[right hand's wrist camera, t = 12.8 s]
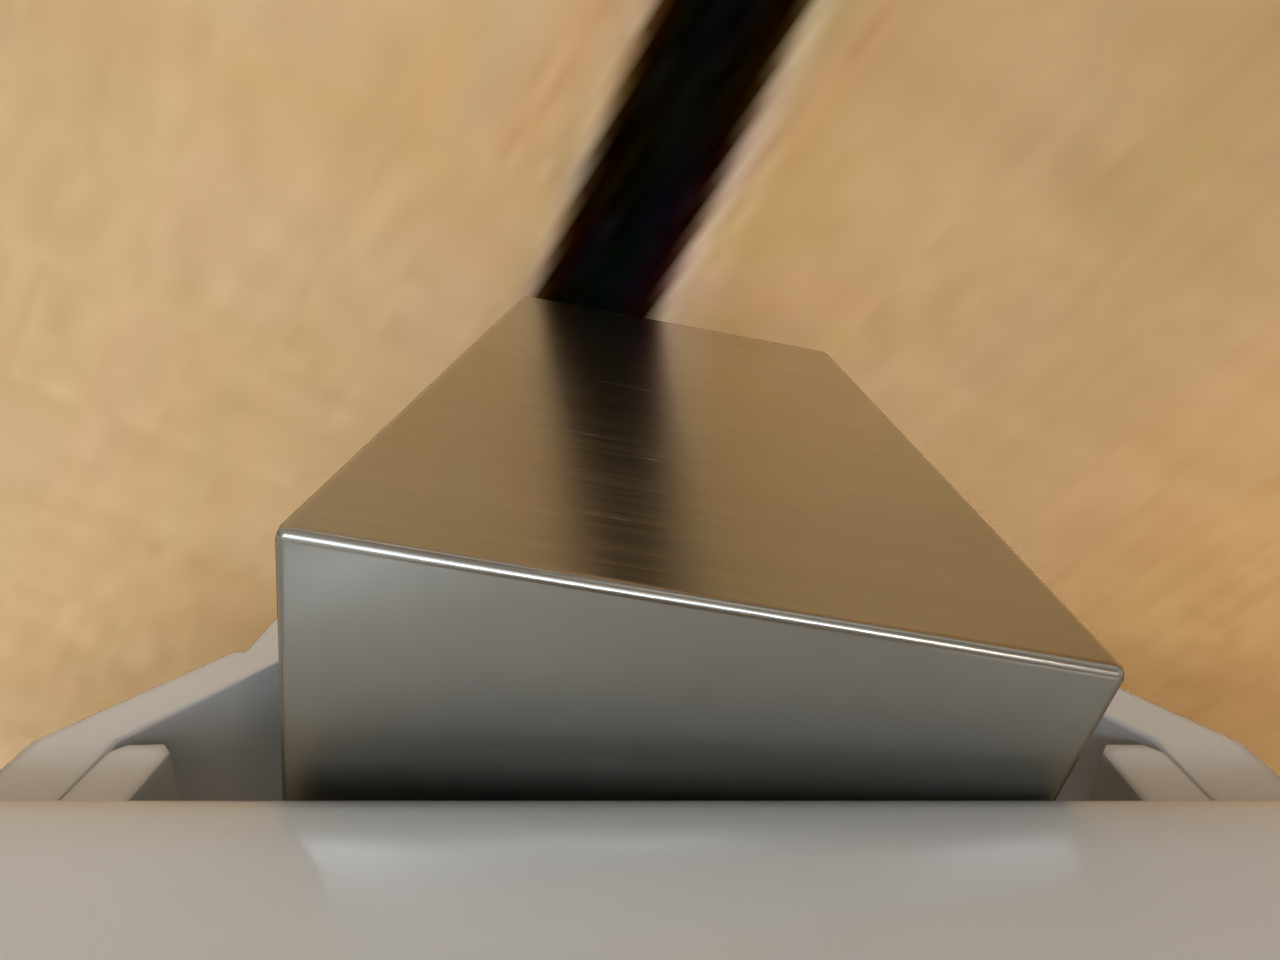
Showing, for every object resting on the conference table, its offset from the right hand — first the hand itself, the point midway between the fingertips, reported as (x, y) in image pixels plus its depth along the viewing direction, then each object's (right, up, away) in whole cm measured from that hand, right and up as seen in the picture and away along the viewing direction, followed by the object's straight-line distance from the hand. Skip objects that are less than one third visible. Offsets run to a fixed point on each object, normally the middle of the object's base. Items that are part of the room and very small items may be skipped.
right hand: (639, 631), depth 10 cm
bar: (-2, -7, +8) cm, 11 cm away
